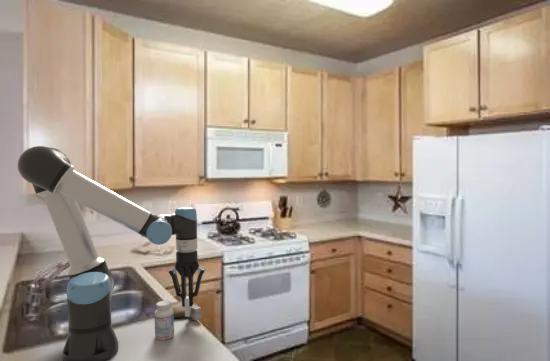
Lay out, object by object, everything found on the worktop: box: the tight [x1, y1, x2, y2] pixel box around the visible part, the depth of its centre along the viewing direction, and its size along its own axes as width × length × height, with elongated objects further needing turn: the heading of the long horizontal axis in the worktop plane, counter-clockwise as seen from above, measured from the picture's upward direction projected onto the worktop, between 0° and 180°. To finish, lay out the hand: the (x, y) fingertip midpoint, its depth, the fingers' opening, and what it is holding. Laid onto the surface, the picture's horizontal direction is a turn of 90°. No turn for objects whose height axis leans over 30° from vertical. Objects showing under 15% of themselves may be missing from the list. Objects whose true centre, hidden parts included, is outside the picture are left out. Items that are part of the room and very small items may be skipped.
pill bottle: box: [153, 300, 175, 341], centre depth 126 cm, size 6×6×11 cm
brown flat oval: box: [170, 300, 202, 321], centre depth 145 cm, size 20×14×4 cm
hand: (187, 315), depth 137 cm, fingers closed
